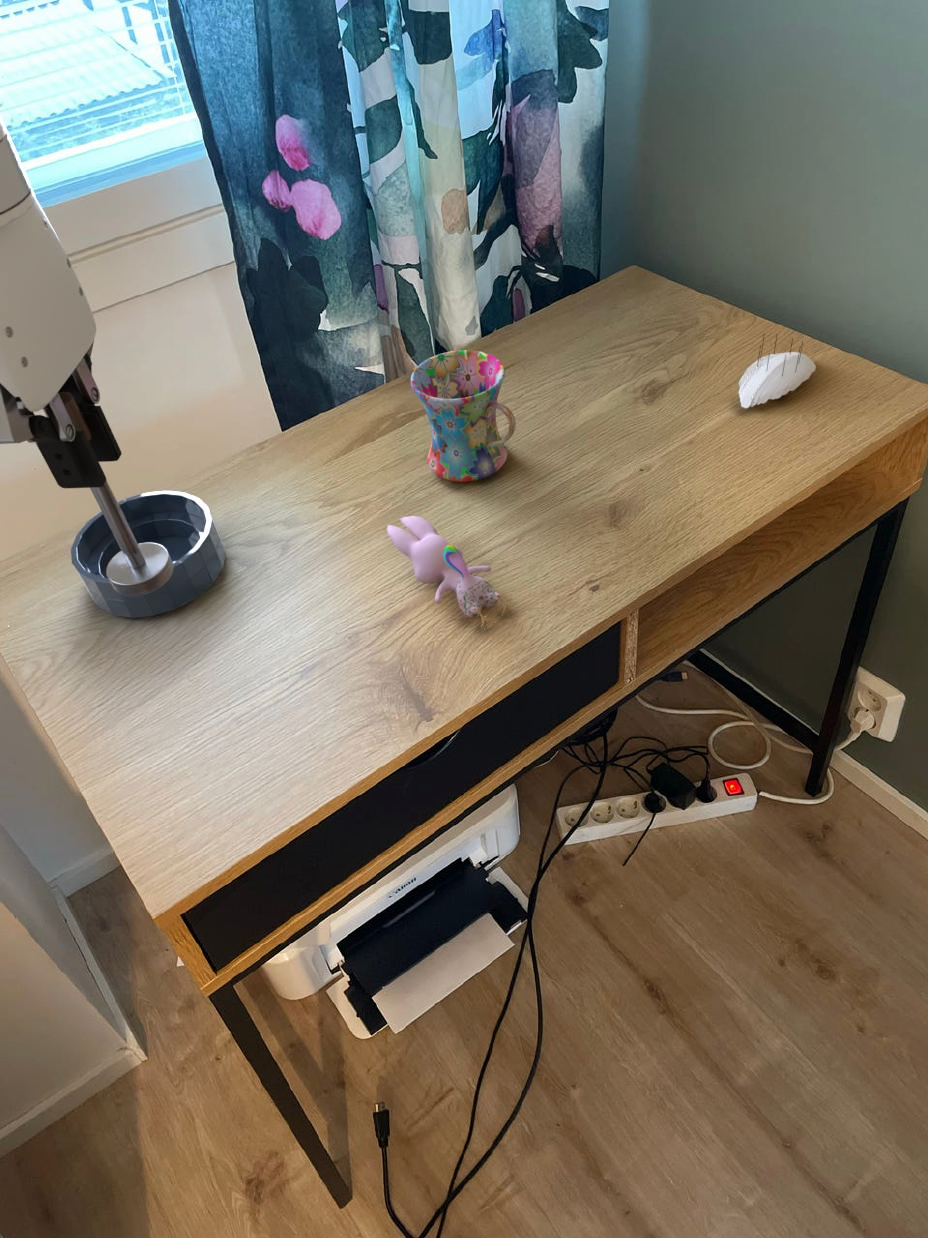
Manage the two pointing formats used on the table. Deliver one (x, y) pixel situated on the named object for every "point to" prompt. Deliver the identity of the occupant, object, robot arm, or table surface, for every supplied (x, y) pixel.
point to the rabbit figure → (445, 567)
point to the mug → (463, 413)
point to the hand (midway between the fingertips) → (91, 470)
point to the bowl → (160, 521)
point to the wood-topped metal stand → (124, 534)
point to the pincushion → (774, 376)
